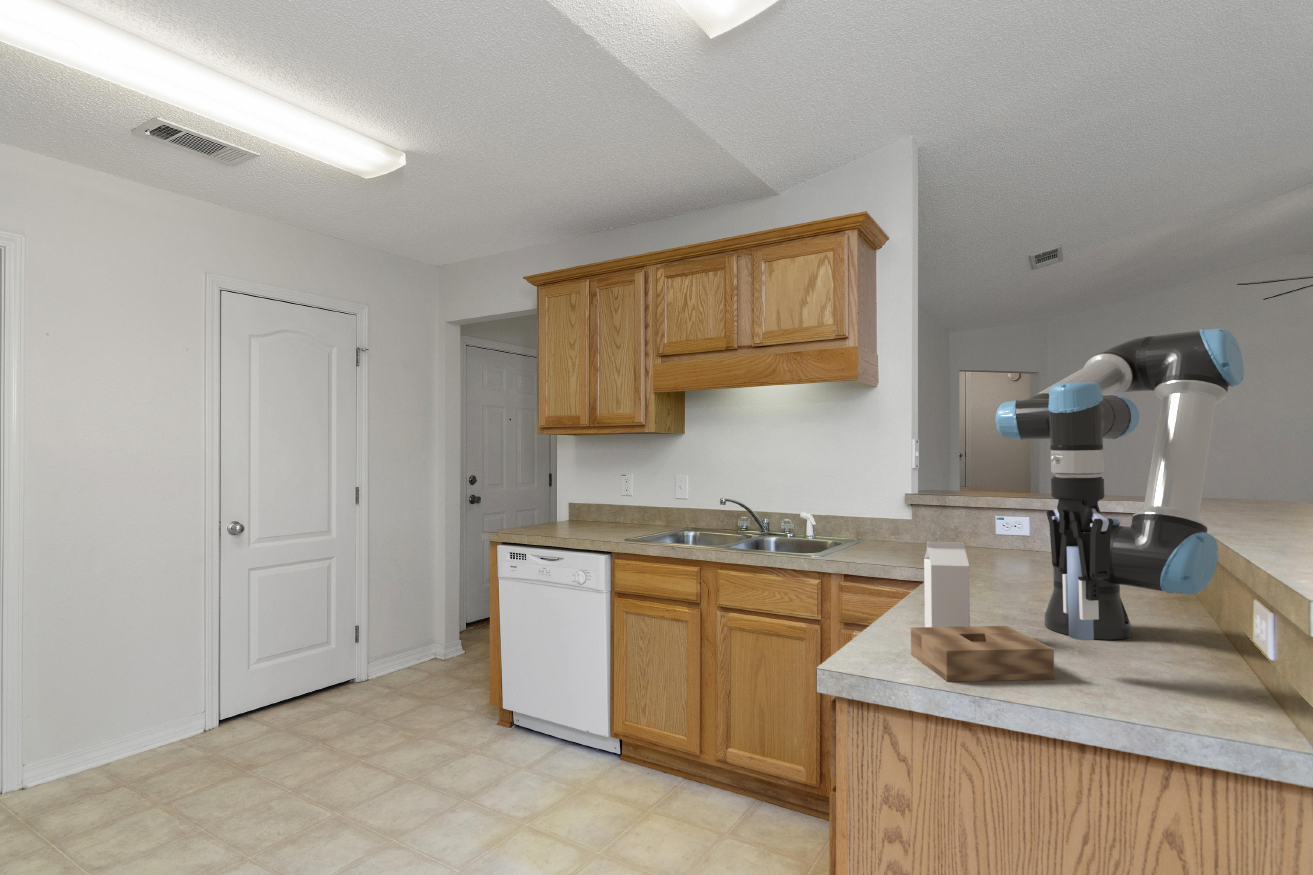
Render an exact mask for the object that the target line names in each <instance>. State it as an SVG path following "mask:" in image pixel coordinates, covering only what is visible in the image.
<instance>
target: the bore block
mask: <svg viewBox="0 0 1313 875" xmlns="http://www.w3.org/2000/svg"><path fill="white" fill-rule="evenodd" d="M910 655H911V656H912V657H913V658H915V659H916V660H918V661H919V662H920V663H922V664H923V665H924V666H925V667H927V668H928V669H930V670H931V671H932V672H933V673H935V674H936V675H938V676H939V677H940V678H942V679H943V680H944V681H946V682H978V681H979V682H981V681H983V682H984V681H985V682H987V681H989V682H990V681H991V682H992V681H1033V680H1036V681H1037V680H1055V648H1053V647H1051V646H1048V645H1047V644H1044V643H1043V642H1040V641H1038V640H1037V639H1035V638H1032V637H1030V636H1029V635H1026V634H1024V633H1021V631H1020V632H1019V631H1018V630H1016V629H1014V628H1012V627H1009V626H1008V625H989V626H987V625H985V626H984V625H983V626H981V625H979V626H977V625H976V626H975V625H974V626H970V627H925V626H924V627H923V626H920V627H910Z"/></svg>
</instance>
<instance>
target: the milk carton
mask: <svg viewBox="0 0 1313 875" xmlns="http://www.w3.org/2000/svg"><path fill="white" fill-rule="evenodd" d="M965 543H966V542H950V541H949V542H947V541H946V542H945V541H944V542H942V541H927V542H926V551H925V554H924V557H923V559H924V560H923V562H924V563H923V567H924V568H923V570H924V571H923V573H924V574H923V576H924V577H923V578H924V586H923V587H924V627H971V614H970V613H971V610H970V607H971V602H970V601H971V600H970V597H971V596H970V595H971V594H970V564H969V560H968V555H967V552H966V548H965V547H966V544H965Z"/></svg>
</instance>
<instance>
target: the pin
mask: <svg viewBox="0 0 1313 875" xmlns="http://www.w3.org/2000/svg"><path fill="white" fill-rule="evenodd" d="M1078 577H1082V571H1081V564H1080V557H1079V549H1078V546H1067V580H1068V618H1069V635H1068V637H1069V638H1071V639H1074V640H1078V641H1079V640H1080V641H1092V640H1094V630H1093V620H1082V619H1080V613H1079V579H1078Z"/></svg>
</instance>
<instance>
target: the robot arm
mask: <svg viewBox="0 0 1313 875" xmlns="http://www.w3.org/2000/svg"><path fill="white" fill-rule="evenodd" d="M1244 369H1245V368H1244V359H1243V355H1242V351H1241V348H1240V345H1239V343H1238V341H1237V339H1236V337H1235V335H1234V334H1233V333H1232V332H1231V331H1229V330H1227V329H1226V328H1211V329H1203V328H1200V329H1199V330H1194V331H1187V332H1177V333H1169V334H1168V333H1167V334H1160V335H1159V334H1158V335H1151V336H1149V335H1148V336H1142V337H1137V338H1134V339H1131V340H1127V341H1125V342H1123V343H1120V344H1117V345H1115V346H1112V347H1109V348H1108V349H1106V350H1103V351H1101V352H1100V353H1098V354H1096V355H1094V356H1092V357H1091V358H1090V359H1088V360H1087V362H1085V364H1084V366H1083V368H1081V369H1079V370H1077V371H1075V372H1073V373H1072V374H1070V375H1068V376H1066V377H1065V378H1063V379H1061V380H1060V381H1057V382H1056V383H1054V384H1052V385H1051V386H1049V387H1047V388H1045V389H1043V390H1041V391H1039V392H1038V393H1036V394H1035V395H1033V396H1031V397H1029V398H1026V399H1023V400H1018V399H1015V400H1010V401H1004V402H1003V403H1001V404H1000V405H999V407H998V408H997V410H996V414H995V425H996V429H997V432H998V433H999V435H1000V436H1001V437H1002V438H1004V439H1008V440H1020V441H1024V440H1050V449H1049V450H1050V472H1051V473H1052V474H1054V475H1055V476H1052V478H1050V488H1051V489H1050V490H1051V491H1050V492H1051V494H1050V495H1051V497H1052V498H1053V499H1055V500H1058V502H1057V506H1056V508H1055V509H1052V510H1050V509H1049V510H1047V511H1046V516H1047V520H1048V524H1049V537H1050V552H1051V554H1050V555H1051V565H1052V569H1053V570H1052V571H1053V572H1052V573H1053V574H1052V575H1053V576H1052V578H1053V588H1052V589H1053V590H1052V593H1051V596H1050V598H1049V601H1048V605H1047V608H1046V610H1045V613H1044V626H1045V627H1046V628H1047V629H1049V630H1052V631H1054V632H1057V633H1061V634H1062V635H1068V636H1069V618H1068V580H1067V546H1078V549H1079V557H1080V564H1081V571H1082V577H1078V579H1079V613H1080V619H1082V620H1093V630H1094V639H1096V640H1122V639H1123V640H1124V639H1128V638H1130V637H1131V636H1132V626H1131V622H1130V620H1129V615H1128V613H1127V611H1126V609H1125V606H1124V603H1123V601H1122V598H1121V592H1120V591H1121V586H1126V587H1127V586H1128V587H1134V588H1141V589H1146V590H1153V591H1159V592H1164V593H1166V594H1183V595H1195V594H1199V593H1201V592H1203V591H1204V589H1205V588H1207V587H1208V586H1209V585H1210V583H1211V581H1212V579H1213V577H1214V575H1215V572H1216V571H1217V570H1216V569H1217V566H1218V560H1219V554H1218V551H1219V548H1218V546H1219V545H1218V542H1217V540H1216V538H1215V537H1214V536H1213V535H1212V534H1210V533H1208V526H1207V524H1206V523H1204V521H1203V520H1202V519H1201V518H1200V511H1201V505H1202V497H1203V490H1204V486H1205V477H1206V471H1207V463H1208V458H1209V452H1210V451H1209V450H1210V443H1211V437H1212V431H1213V424H1214V417H1215V411H1216V405H1217V404H1219V403H1221V402H1222V401H1224V400H1225V399H1226V398H1227V396H1228V389H1229V387H1231V388H1233V387H1234V388H1235V387H1236V386H1239V385H1240V384H1242V381H1243V380H1244V374H1245V372H1244V371H1245V370H1244ZM1146 391H1147V392H1148V391H1152V392H1153V391H1154V392H1153V393H1154V395H1155V396H1156V397H1157V398H1158V399H1160V400H1161V403H1160V409H1159V413H1158V420H1157V426H1156V431H1155V439H1154V445H1153V449H1152V456H1151V462H1150V466H1149V467H1150V469H1149V473H1148V480H1147V486H1146V490H1145V492H1146V493H1145V499H1144V504H1143V509H1141V510H1140V511H1138V512H1135V513H1134V514H1133V515H1132V518H1131V523H1130V526H1124V525H1121V522H1120V521H1119V519H1118V518H1117V517H1104V516H1103V515H1101V510H1100V507H1099V503H1098V502H1099V501H1101V500H1103V499H1104V498H1105V479H1104V478H1103V476H1101V475H1102V474H1104V472H1105V460H1104V458H1105V457H1104V439H1109V440H1110V439H1111V440H1116V439H1118V438H1122V437H1124V436H1125V437H1126V436H1128V435H1130V434H1131V433H1132V432H1133V431H1135V429H1136V428H1137V427H1138V424H1139V422H1140V411H1139V409H1138V407H1137V405H1136V404H1135V403H1134V402H1133V400H1130V399H1129V398H1127V397H1124V396H1120V395H1122V394H1123V393H1130V392H1146ZM1120 585H1121V586H1120ZM1094 639H1093V640H1094Z"/></svg>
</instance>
